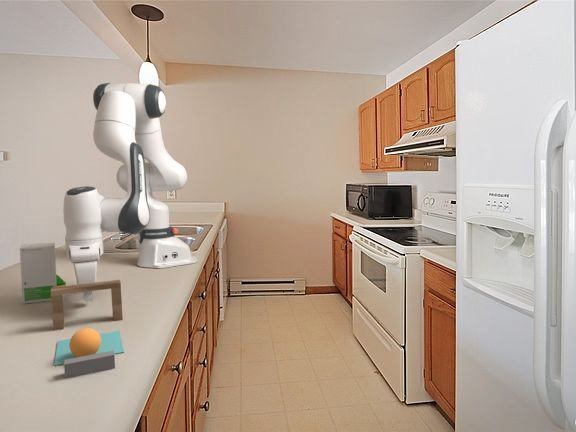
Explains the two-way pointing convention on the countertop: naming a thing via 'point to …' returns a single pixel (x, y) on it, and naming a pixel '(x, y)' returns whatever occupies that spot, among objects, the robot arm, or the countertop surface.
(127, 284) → the countertop surface
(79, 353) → the ball
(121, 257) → the countertop surface
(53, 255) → the skincare box
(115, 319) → the bridge
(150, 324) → the countertop surface
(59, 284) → the dish sponge
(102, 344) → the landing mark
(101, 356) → the stopper
